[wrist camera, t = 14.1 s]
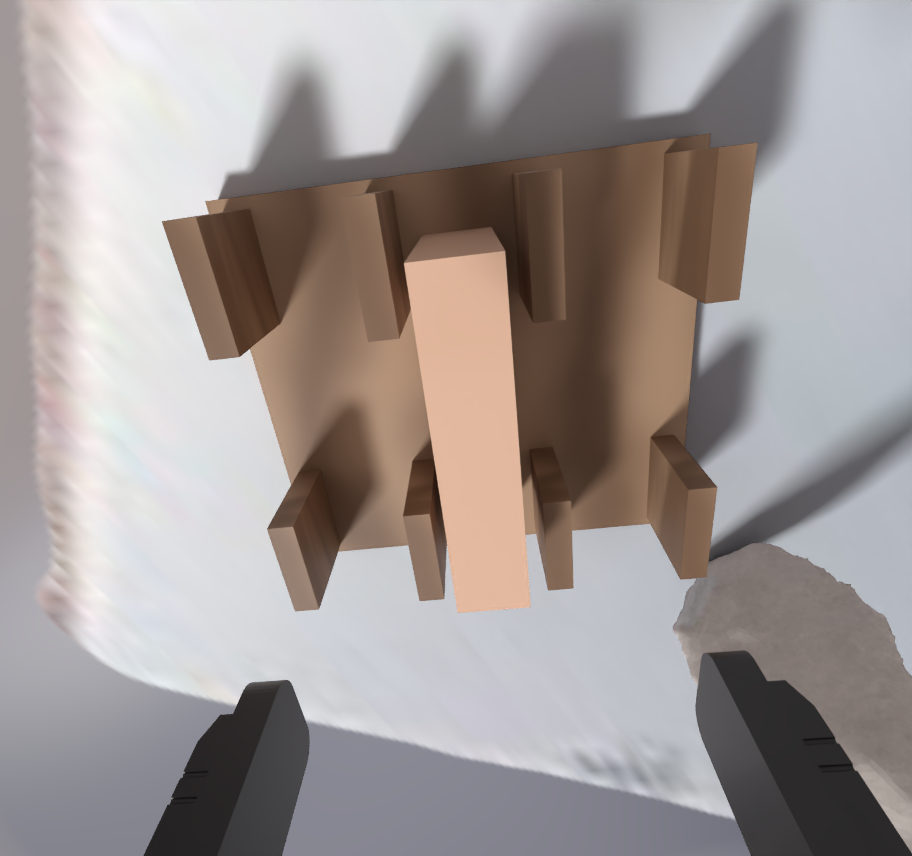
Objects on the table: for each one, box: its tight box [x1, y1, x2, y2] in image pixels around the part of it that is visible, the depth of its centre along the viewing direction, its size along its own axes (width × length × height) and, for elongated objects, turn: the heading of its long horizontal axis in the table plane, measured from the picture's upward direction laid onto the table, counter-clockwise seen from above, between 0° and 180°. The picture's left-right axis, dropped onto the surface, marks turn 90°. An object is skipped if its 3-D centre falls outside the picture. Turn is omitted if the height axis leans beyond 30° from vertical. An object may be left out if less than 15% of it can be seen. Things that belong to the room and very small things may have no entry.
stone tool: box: [673, 543, 912, 853], centre depth 25 cm, size 9×3×15 cm, turn 135°
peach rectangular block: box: [404, 227, 531, 613], centre depth 22 cm, size 3×14×8 cm, turn 7°
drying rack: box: [162, 134, 757, 611], centre depth 24 cm, size 21×19×6 cm
